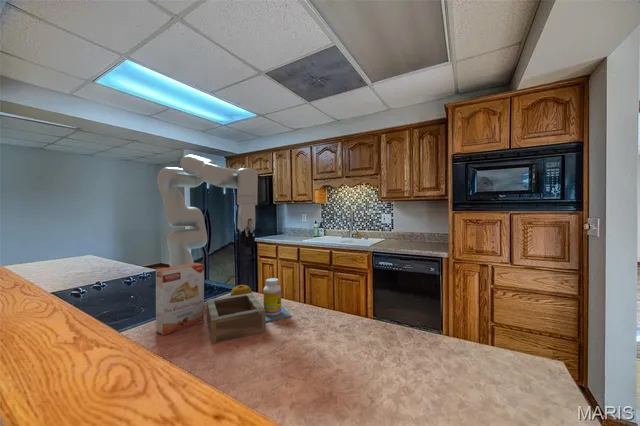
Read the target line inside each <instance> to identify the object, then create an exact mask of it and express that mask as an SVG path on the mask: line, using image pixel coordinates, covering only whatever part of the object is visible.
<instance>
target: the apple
mask: <svg viewBox="0 0 640 426" xmlns="http://www.w3.org/2000/svg"><path fill="white" fill-rule="evenodd" d="M248 293H252V294H253V292H252V289H251V288H250V286H248V285H246V284H239V285H236V286H234V287H233V288H232V289H231V291H230V296H235V295H242V294H248Z"/></svg>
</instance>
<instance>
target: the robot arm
mask: <svg viewBox="0 0 640 426" xmlns="http://www.w3.org/2000/svg"><path fill="white" fill-rule="evenodd" d="M179 162H180V167H181V168H180V167H172V166H171V167H170V166H169V167H168V166H167V167H164V168H162V169H160V170H159V172H158V174H157V179H156V181H157V187H158V190H159V193H160V195H161V197H162V201H163V207H164V211H165V216H166V217H165V218H166V221H167V224H168V225H169V227H171V228H185V229H176V230H173V231H171V232H169V233H168V235H167V237H166V246H167V249H168V254H169V267H173V266H180V265H186V264H192V263H194V258H193V255H192V254H191V252H190V250H194V249H200V248H203V247H205V246H206V245H207V243H208V232H207V228H206V223H205V217H204V214H203V212H202V211H201V209H200V208H199V207H196V206H187V204H186V203H185V201H186V200H185V197H184V195H183V194H182V192H181V191H180V190H179V189H178V188H190V189H191V188H197V187H199V186H201V184H203V183H204V182H205V183H206V184H208V185H209V184H210V185H212V186H214V187H219V188H227V189H228V188H229V189H236V190H237V191H236V205H238V211H237V214H238V215H237V229H238V230H239V244H241V245H242V244H243V245H244V247H245V248H253V247H255V229H256V206H258V186H259V185H258V181H259V179H258V171H257V169H255V168H249V167H246V168H244V167H243V168H239V169H234V168H229V167H225V166H224V167H223V166H219V165H217V164H216V162H215V161H213V160H212V159H210V158H208V157H204V156H199V155H194V154H188V155H185V156H183V157H182V158H181V159H180V161H179ZM177 187H178V188H177ZM187 227H188V228H187Z"/></svg>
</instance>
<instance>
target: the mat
mask: <svg viewBox="0 0 640 426" xmlns="http://www.w3.org/2000/svg"><path fill="white" fill-rule="evenodd" d="M292 317H293V315H292V314H291V313H290V312H289V311H288V310H287V309H286V308H285V307H284V306H283V305H281V313H280V314H278V315H275V316H267V315H265V320H266V323H270V322H274V321H280V320H283V319H288V318H292Z"/></svg>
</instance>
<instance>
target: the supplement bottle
mask: <svg viewBox="0 0 640 426" xmlns="http://www.w3.org/2000/svg"><path fill="white" fill-rule="evenodd" d="M262 290H263V291H262V292H263V308H264V309H265V315H267V316H275V315H278V314H280V313H281V306H282V288H281V286H280V285H279V278H274V277H271V278H267V279H265V286H264V287H263V289H262Z"/></svg>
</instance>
